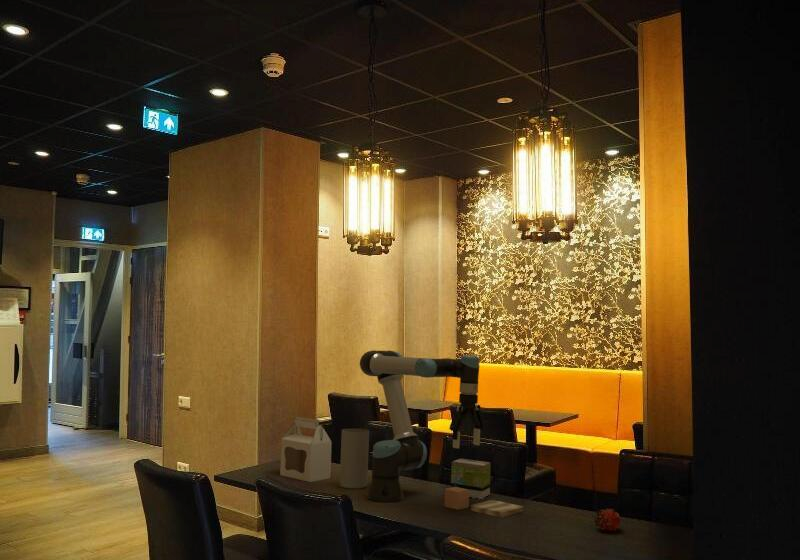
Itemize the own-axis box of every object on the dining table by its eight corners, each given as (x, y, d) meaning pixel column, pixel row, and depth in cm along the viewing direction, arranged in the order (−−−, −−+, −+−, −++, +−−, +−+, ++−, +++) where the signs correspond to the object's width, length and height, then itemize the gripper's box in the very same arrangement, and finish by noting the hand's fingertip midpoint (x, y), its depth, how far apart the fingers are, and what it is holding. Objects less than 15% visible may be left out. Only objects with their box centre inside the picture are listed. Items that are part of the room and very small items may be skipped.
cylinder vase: (366, 489, 299) (368, 432, 302) (338, 488, 300) (340, 431, 302) (368, 483, 312) (369, 429, 314) (341, 482, 312) (343, 428, 315)
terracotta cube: (444, 506, 272) (444, 489, 273) (455, 504, 278) (455, 486, 278) (458, 510, 268) (458, 492, 268) (468, 507, 273) (469, 489, 273)
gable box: (279, 475, 326) (282, 416, 329) (300, 471, 336) (303, 415, 339) (309, 482, 311) (312, 421, 314) (330, 478, 321) (333, 419, 324)
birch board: (470, 510, 267) (470, 505, 267) (492, 504, 278) (492, 499, 278) (502, 517, 257) (502, 512, 257) (523, 511, 268) (523, 506, 268)
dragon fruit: (595, 537, 240) (614, 537, 247) (613, 527, 236) (632, 527, 243) (585, 514, 245) (603, 514, 252) (602, 504, 241) (621, 504, 248)
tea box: (449, 495, 293) (450, 460, 294) (458, 491, 302) (459, 457, 303) (482, 500, 286) (483, 464, 287) (490, 495, 295) (491, 461, 296)
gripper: (457, 395, 262) (454, 450, 261) (493, 393, 281) (491, 445, 279) (442, 393, 268) (439, 447, 266) (479, 391, 286) (477, 442, 284)
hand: (466, 446), depth 273 cm, fingers open, 13 cm apart
